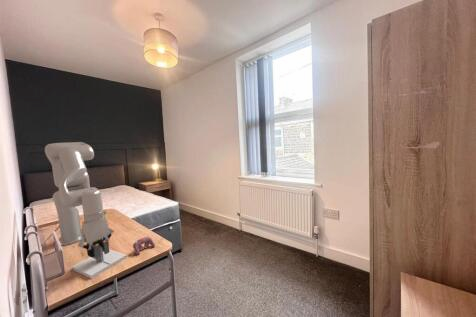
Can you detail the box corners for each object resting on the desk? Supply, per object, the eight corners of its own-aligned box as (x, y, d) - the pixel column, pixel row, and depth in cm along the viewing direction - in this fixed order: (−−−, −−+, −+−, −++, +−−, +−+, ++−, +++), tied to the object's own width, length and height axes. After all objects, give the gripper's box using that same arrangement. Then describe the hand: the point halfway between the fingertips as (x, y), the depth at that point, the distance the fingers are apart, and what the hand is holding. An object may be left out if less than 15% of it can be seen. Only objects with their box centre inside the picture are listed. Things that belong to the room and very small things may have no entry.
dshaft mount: (72, 269, 92) (69, 252, 91) (107, 251, 106) (105, 235, 105) (91, 278, 84) (88, 260, 83) (126, 257, 99) (124, 241, 98)
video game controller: (152, 247, 110) (148, 235, 111) (156, 246, 107) (152, 233, 109) (134, 256, 102) (130, 243, 104) (137, 255, 100) (133, 241, 101)
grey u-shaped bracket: (88, 256, 93) (87, 243, 92) (102, 249, 98) (100, 237, 98) (96, 259, 90) (94, 246, 90) (109, 252, 96) (107, 240, 95)
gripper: (108, 209, 102) (112, 242, 104) (67, 222, 87) (73, 261, 88) (117, 210, 99) (121, 245, 100) (76, 225, 83) (82, 265, 85)
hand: (99, 252), depth 94 cm, fingers closed on grey u-shaped bracket, 6 cm apart
